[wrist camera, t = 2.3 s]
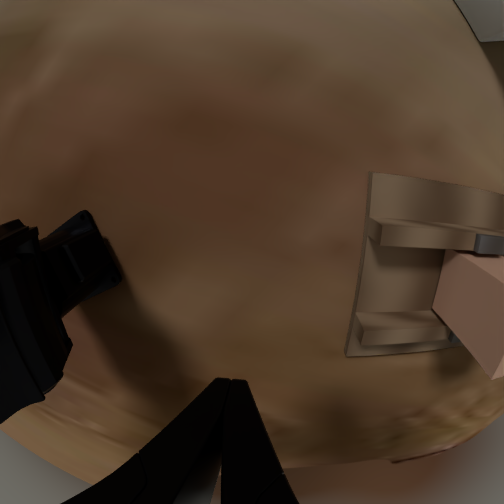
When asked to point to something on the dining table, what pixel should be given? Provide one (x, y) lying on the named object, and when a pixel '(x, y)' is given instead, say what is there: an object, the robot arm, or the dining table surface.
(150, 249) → the dining table surface
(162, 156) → the dining table surface
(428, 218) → the walnut chute
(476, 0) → the medicine bottle
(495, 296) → the terracotta block
